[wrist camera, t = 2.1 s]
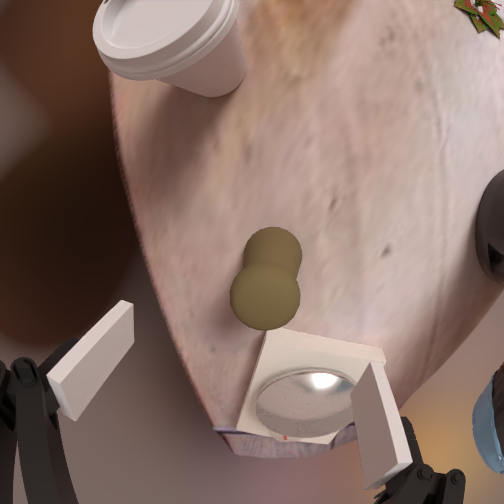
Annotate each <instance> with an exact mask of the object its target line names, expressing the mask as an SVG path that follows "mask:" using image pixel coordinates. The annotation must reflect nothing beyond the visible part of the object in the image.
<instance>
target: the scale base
mask: <svg viewBox="0 0 504 504" xmlns="http://www.w3.org/2000/svg"><path fill="white" fill-rule="evenodd" d="M370 362H378V363H382V365H383V368H384V366H385V364H386V363H387V361H386V358H385V356H384V353H383V351H382V348H381V347H376V346H370V345H364V344H359V343H353V342H347V341H342V340H337V339H332V338H327V337H322V336H317V335H312V334H307V333H303V332H298V331H294V330H289V329H285V328H278V329H274V330H269V331H266V333H265V336H264V340H263V343H262V346H261V349H260V353H259V356H258V359H257V362H256V365H255V368H254V372H253V375H252V378H251V381H250V384H249V387H248V390H247V393H246V396H245V399H244V402H243V405H242V408H241V411H240V414H239V417H238V422H237V426H236V430H239V431H243V432H248V433H252V434H257V435H262V436H268V437H273V438H274V439H276V440H278V441H282V442H295V441H300V442H309V443H318V444H329V443H330V441H331V440H332V439H333V438H334V437H335V435H336V434H337V433H338V432H339V430H338V431H336V432H334V433H331V434H328V435H324V436H320V437H313V438H295V437H289V436H284V435H281V434H278V433H275V432H273V431H271V430H270V429H268V428H267V427H265V426H264V425H263V424H262V423H261V422H260V421H259V419H258V417H257V415H256V411H255V405H256V399H257V395H258V393H259V391H260V389H261V388H262V387H263V386H264V385H265V384H266V383H267V382H268V381H269V380H271V379H272V378H274V377H276V376H277V375H280V374H282V373H284V372H288V371H291V370H295V369H300V368H308V367H322V368H330V369H334V370H338V371H341V372H343V373H345V374H347V375H349V376H350V377H352V378H353V379H354V380H355V381H356V383H358V381H359V379H360V378H361V376H362V374H363V373H364V371H365V369H366V368H367V366H368V364H369V363H370Z"/></svg>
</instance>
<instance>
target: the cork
mask: <svg viewBox="0 0 504 504" xmlns="http://www.w3.org/2000/svg"><path fill="white" fill-rule="evenodd" d="M301 260H302V250H301V247H300V243H299V242H298V240H297V239H296V238H295V236H294V235H292V234H291V233H290V232H288V231H287V230H284V229H281V228H279V227H268V228H264V229H261V230H259V231H257V232H256V233H254V234H253V235H252V236H251V238H250V239H249V240H248V242H247V245H246V248H245V253H244V263H243V270H241V271H240V273H239V274H238V275H237V276H236V278H235V279H234V281H233V283H232V286H231V289H230V304H231V307H232V309H233V312H234V314H235V315H236V316H237V317H238V319H239V320H240V321H241V322H242V323H244V324H245V325H247V326H248V327H250V328H253V329H256V330H263V331H269V330H274V329H278V328H280V327H282V326H284V325H286V324H287V323H288V322H289V321H290V320H291V319H292V318H293V317H294V316H295V314H296V311H297V309H298V307H299V305H300V289H299V286H298V282H297V281H296V278H297V274H298V271H299V268H300V264H301Z"/></svg>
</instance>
